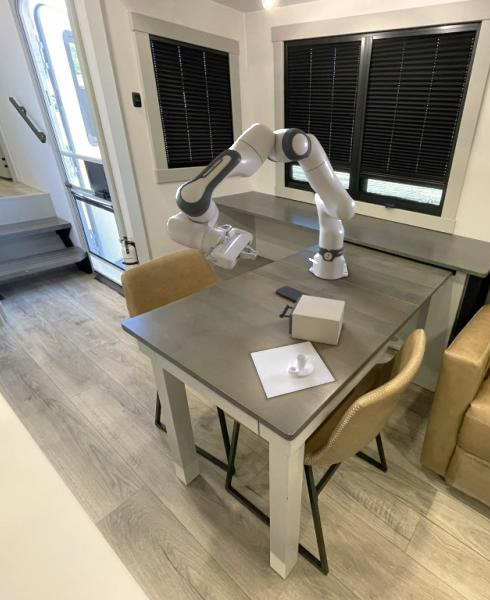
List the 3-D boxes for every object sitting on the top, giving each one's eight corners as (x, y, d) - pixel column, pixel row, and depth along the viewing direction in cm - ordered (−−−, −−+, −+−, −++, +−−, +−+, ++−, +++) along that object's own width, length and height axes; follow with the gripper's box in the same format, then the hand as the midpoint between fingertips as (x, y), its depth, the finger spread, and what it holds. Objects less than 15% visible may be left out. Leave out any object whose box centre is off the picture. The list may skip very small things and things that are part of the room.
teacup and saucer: (290, 380, 94) (290, 369, 92) (281, 363, 100) (281, 352, 98) (318, 373, 97) (319, 362, 95) (308, 357, 103) (309, 346, 101)
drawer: (276, 331, 113) (276, 312, 109) (286, 313, 123) (287, 295, 120) (330, 341, 110) (332, 321, 106) (336, 321, 121) (338, 303, 117)
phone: (302, 303, 131) (274, 290, 138) (302, 305, 131) (274, 292, 139) (313, 296, 136) (286, 285, 144) (313, 298, 137) (286, 286, 144)
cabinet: (291, 337, 112) (292, 313, 107) (301, 317, 124) (302, 294, 119) (336, 345, 110) (339, 321, 105) (342, 323, 121) (345, 301, 117)
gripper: (202, 248, 98) (246, 263, 99) (229, 222, 115) (267, 234, 115) (201, 265, 102) (244, 280, 102) (227, 237, 118) (264, 250, 119)
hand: (256, 255), depth 109 cm, fingers closed
